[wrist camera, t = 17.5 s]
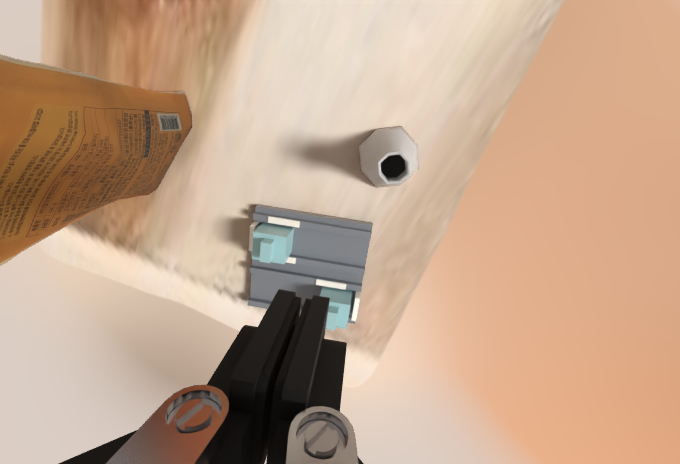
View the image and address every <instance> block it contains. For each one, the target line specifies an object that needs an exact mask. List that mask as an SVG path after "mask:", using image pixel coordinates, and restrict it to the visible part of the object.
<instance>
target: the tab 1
mask: <svg viewBox="0 0 680 464" xmlns="http://www.w3.org/2000/svg"><path fill="white" fill-rule="evenodd" d="M293 234H294V227H292V226H286V225H279V224H273V223H267V222H263V223H262V224H261V225H260V226H259V227H258V228H257V229H256V230H255V231H254V232H253V246H252V259H256V260H260V261H259V262H265V263H270V262H274V263H280V264H285V262H286V261H287V259H288V257H289V256H290V254H291V252H292V244H293Z"/></svg>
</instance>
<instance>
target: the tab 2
mask: <svg viewBox="0 0 680 464" xmlns="http://www.w3.org/2000/svg"><path fill="white" fill-rule="evenodd" d="M320 296H322V297H328V298H330V302H329V308H328V315H327V322H326V328H325V329H328V330H334V331H335V328H336V327H337V328H343V329H347V323H348V318H349V312H350V306H351V297H352V290H348V289H346V290H343V289H338V288H332V287H326V286H323V287H322V290H321V294H320Z"/></svg>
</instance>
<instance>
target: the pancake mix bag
mask: <svg viewBox="0 0 680 464" xmlns="http://www.w3.org/2000/svg"><path fill="white" fill-rule="evenodd" d="M191 128H192V114H191V111H190V107H189V104H188V101H187V98H186V96H185V93H184V91H179V92H152V91H147V90H144V89H142V88H140V87H134V86H128V85H124V84H120V83H115V82H110V81H106V80H103V79H101V78H98V77H95V76H92V75H89V74H86V73H81V72H76V71H71V70H67V69H64V68H60V67H56V66H52V65H46V64H40V63H34V62H29V61H23V60H18V59H14V58H11V57H8V56H5V55H2V54H0V265H3V264H4V263H6V262H8V261H9V260H11V259H12V258H13V257H15V256H16V255H18V254H19V253H21V252H22V251H24V250H26V249H27V248H29V247H31V246H33V245H35V244H36V243H38V242H40V241H41V240H43V239H45V238H46V237H48V236H50V235H52V234H53V233H55V232H57V231H59V230H60V229H62V228H64V227H66V226H67V225H69V224H71V223H73V222H75V221H77V220H79V219H81V218H83V217H85V216H86V215H88V214H90V213H91V212H93V211H95V210H96V209H98V208H100V207H102V206H104V205H107V204H109V203H111V202H114V201H116V200H118V199H126V198H131V197H135V196H141V195H149V194H150V193H152V192H153V191H155V190H156V189H157V188H158V186H159V184H160V183H161V181H162V179H163V177H164V175H165V174H166V172H167V170H168V168H169V167H170V165H171V163H172V161H173V159H174V157H175V155H176V153H177V152H178V150H179V148H180V146H181V144H182V143H183V141H184V140H185V138H186V137H187V135H188V133H189V131H190V130H191Z"/></svg>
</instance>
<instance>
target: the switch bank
mask: <svg viewBox="0 0 680 464" xmlns="http://www.w3.org/2000/svg"><path fill="white" fill-rule="evenodd" d="M253 220H255V222H254V223H252V224H251V225H250V234H249V251H251V256H252V246H253V232H254V231H255V230H256V229H257V228H258V227H259V226H260V225H261V224H262V223H263V222H267V223H273V224H279V225H286V226H292V227H294V234H293V244H292V252H291V254H290V256H289V257H288V259H287V261H286V262H285V264H280V263H274V262H270V263H265V262H259V261H260V260H256V259H252V266H251V267H250V273H251V288H250V298H249V299H248V305H249V306H255V307H260V308H266V309H268V308H269V306H270V304H271V302H272V300H273V299H274V297H275V295H276V293H277V291H278V290H279V289H281V290H287V291H293V292H296V297H301V307H300V314H301V311H302V308H303V305H304V303H305V300H306V298H307V299H312V297H313V295H316V296H320V294H321V290H322V287H323V286H326V287H332V288H338V289H343V290H346V289H348V290H352V297H351V306H350V312H349V318H348V323H353V324H355V321H356V318H357V312H358V307H359V301H360V292H361V287H362V280H363V275H364V271H365V263H366V258H367V252H368V247H369V241H370V238H371V230H372V223H371V222H364V221H358V220H352V219H346V218H340V217H333V216H327V215H321V214H315V213H308V212H302V211H296V210H290V209H284V208H277V207H271V206H265V205H259V204H258V205H257V206H256V207H255V212H254V213H253Z"/></svg>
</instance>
